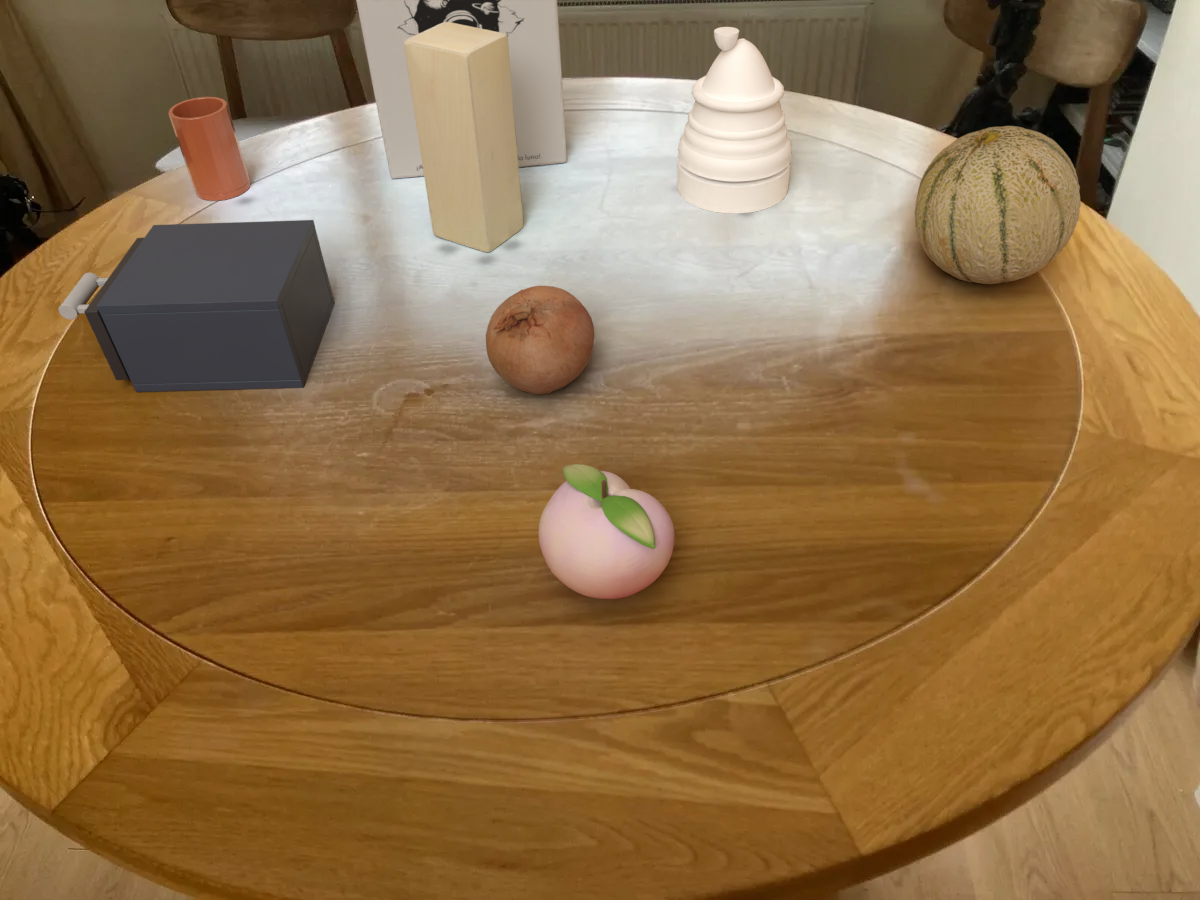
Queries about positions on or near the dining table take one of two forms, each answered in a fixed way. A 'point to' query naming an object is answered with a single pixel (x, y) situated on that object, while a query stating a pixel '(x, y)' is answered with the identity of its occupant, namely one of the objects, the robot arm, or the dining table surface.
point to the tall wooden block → (466, 133)
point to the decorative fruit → (604, 534)
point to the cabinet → (220, 306)
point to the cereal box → (530, 20)
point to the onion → (540, 339)
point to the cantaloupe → (997, 205)
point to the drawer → (78, 302)
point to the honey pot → (735, 134)
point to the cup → (210, 148)
